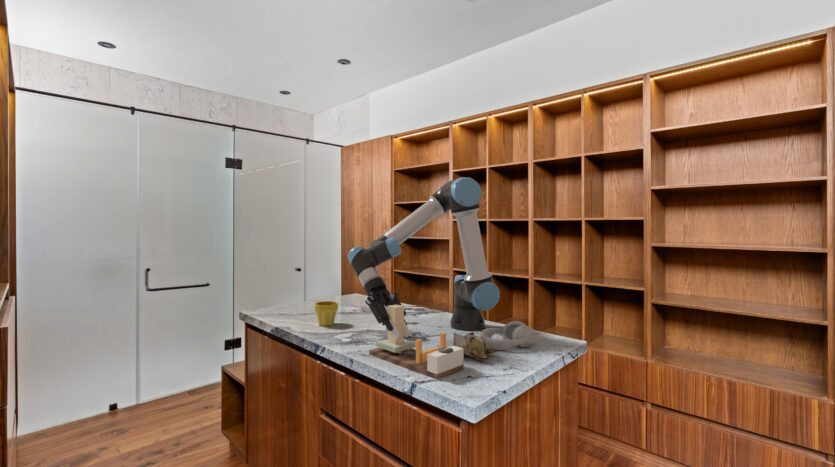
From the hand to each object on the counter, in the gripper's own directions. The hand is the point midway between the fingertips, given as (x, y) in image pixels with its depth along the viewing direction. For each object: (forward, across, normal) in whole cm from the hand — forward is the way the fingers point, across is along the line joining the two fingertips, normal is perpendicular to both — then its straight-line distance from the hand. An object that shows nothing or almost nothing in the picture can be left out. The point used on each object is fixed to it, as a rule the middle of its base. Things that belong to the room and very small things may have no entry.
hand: (403, 336), depth 136 cm
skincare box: (-11, -16, -22) cm, 29 cm away
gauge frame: (+12, 0, +6) cm, 14 cm away
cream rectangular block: (+18, 0, +10) cm, 20 cm away
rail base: (+9, 0, -1) cm, 9 cm away
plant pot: (-36, -6, -47) cm, 59 cm away
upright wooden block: (+1, 0, -6) cm, 6 cm away
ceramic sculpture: (+17, -18, +6) cm, 25 cm away
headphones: (+16, -39, +6) cm, 43 cm away
